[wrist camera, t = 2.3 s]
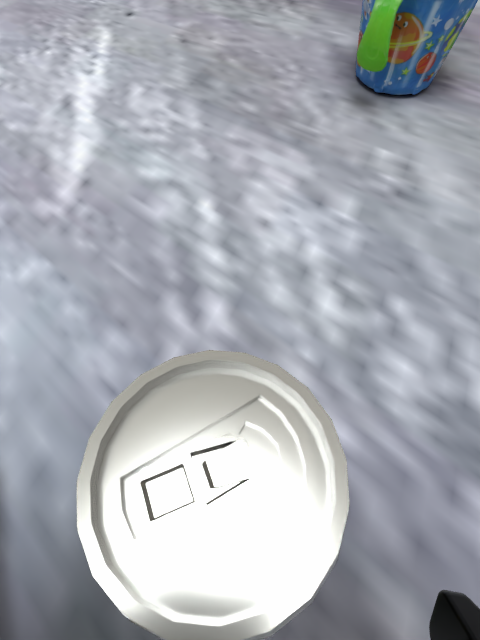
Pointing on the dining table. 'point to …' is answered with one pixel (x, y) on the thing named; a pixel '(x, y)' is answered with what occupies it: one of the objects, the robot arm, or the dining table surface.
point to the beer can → (213, 498)
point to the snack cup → (407, 41)
